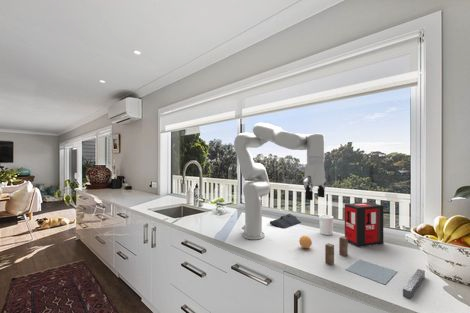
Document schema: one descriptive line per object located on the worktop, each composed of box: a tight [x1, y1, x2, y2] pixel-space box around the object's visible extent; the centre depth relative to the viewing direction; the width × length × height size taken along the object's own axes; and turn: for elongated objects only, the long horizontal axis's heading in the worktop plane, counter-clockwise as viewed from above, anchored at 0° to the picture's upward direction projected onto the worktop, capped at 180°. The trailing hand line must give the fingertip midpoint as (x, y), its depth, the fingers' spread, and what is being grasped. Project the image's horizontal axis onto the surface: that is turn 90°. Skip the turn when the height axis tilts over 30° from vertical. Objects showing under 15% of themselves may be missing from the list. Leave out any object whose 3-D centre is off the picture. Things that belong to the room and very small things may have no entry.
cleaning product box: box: [344, 201, 384, 248], centre depth 122 cm, size 16×9×20 cm, turn 105°
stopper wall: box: [402, 268, 426, 300], centre depth 81 cm, size 2×20×2 cm, turn 130°
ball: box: [298, 235, 313, 249], centre depth 115 cm, size 6×6×6 cm
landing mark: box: [345, 258, 398, 285], centre depth 92 cm, size 14×14×1 cm
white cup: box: [318, 214, 334, 236], centre depth 136 cm, size 8×8×10 cm
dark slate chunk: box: [269, 213, 302, 229], centre depth 156 cm, size 15×22×5 cm
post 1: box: [324, 243, 335, 266], centre depth 98 cm, size 3×3×8 cm
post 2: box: [338, 236, 349, 257], centre depth 106 cm, size 3×3×8 cm
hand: (315, 198), depth 104 cm, fingers open, 9 cm apart
